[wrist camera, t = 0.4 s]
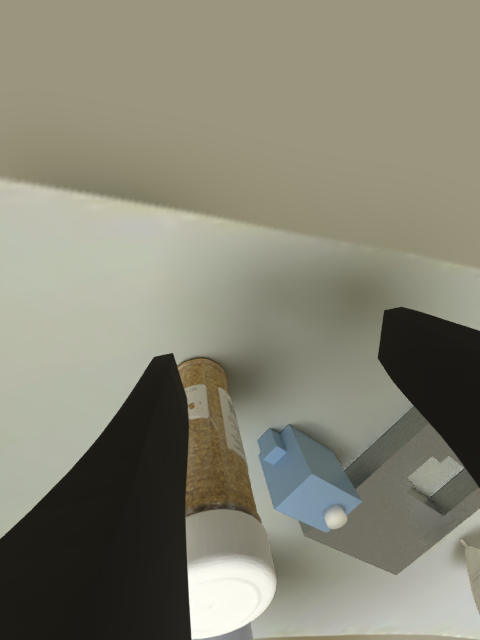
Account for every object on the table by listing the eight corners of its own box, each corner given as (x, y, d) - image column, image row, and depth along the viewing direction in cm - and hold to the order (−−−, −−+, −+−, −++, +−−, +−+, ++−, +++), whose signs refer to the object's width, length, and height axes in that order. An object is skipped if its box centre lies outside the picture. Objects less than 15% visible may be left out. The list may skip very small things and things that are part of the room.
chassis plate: (385, 556, 36) (396, 575, 34) (296, 515, 30) (304, 535, 28) (503, 458, 33) (522, 473, 31) (430, 391, 27) (448, 405, 25)
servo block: (303, 479, 28) (331, 543, 23) (248, 450, 26) (265, 515, 20) (332, 451, 27) (368, 511, 22) (279, 418, 25) (304, 477, 20)
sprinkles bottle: (171, 353, 21) (151, 570, 9) (233, 359, 22) (295, 560, 10) (164, 406, 22) (138, 655, 10) (222, 409, 23) (264, 638, 11)
